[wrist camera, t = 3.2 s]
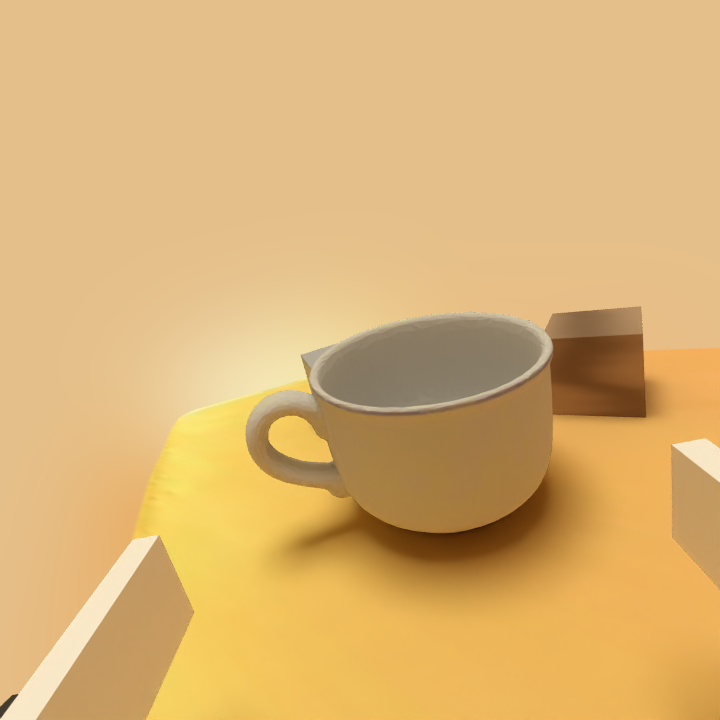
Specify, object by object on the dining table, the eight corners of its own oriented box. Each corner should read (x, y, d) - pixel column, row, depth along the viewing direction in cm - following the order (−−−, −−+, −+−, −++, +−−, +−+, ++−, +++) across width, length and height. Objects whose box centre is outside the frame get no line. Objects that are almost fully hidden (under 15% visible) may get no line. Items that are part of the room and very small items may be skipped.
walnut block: (643, 380, 28) (640, 306, 27) (645, 418, 24) (642, 333, 23) (559, 381, 31) (552, 313, 29) (548, 415, 27) (540, 339, 25)
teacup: (514, 420, 27) (497, 295, 25) (621, 543, 17) (610, 350, 14) (296, 471, 28) (258, 352, 25) (271, 621, 17) (203, 445, 15)
